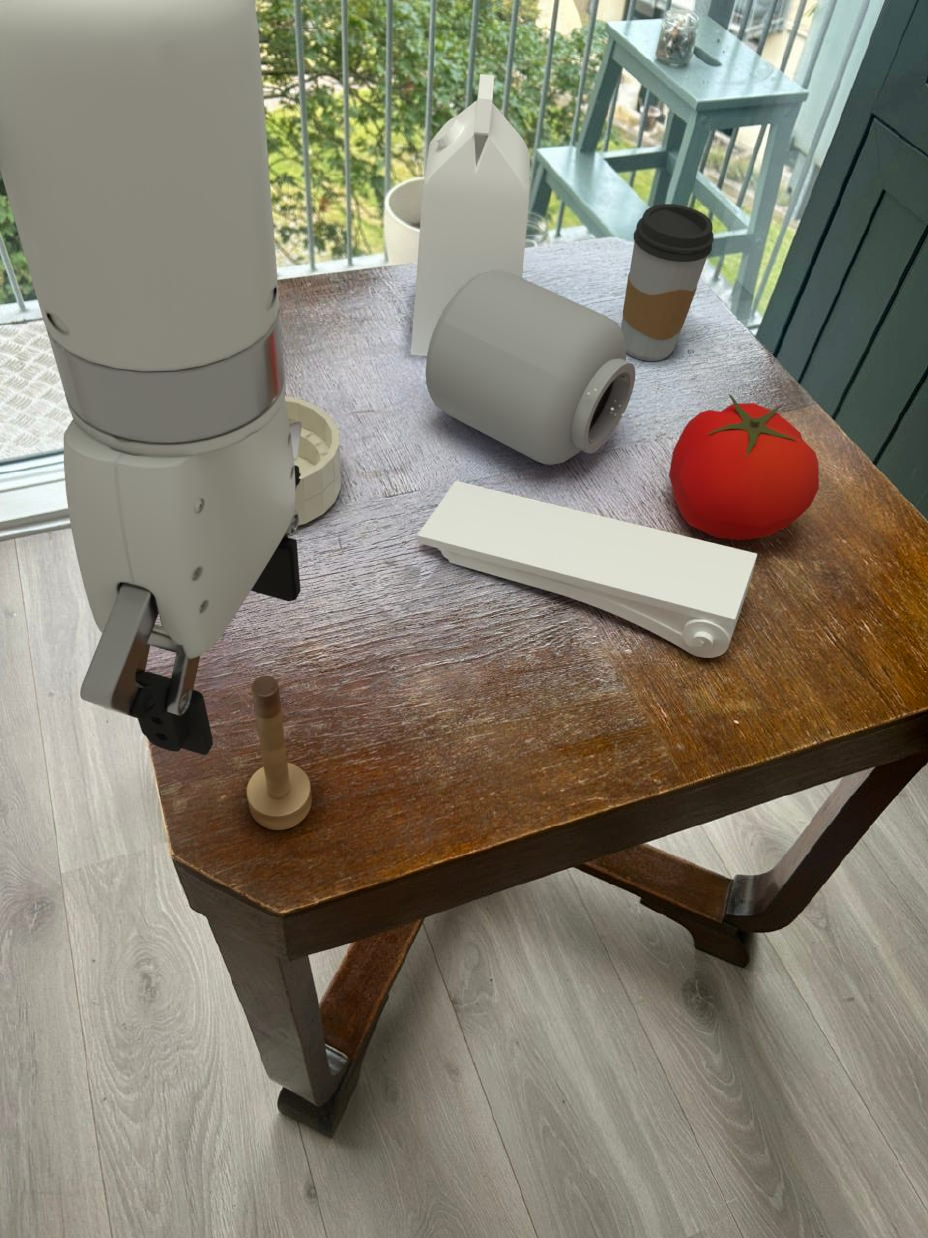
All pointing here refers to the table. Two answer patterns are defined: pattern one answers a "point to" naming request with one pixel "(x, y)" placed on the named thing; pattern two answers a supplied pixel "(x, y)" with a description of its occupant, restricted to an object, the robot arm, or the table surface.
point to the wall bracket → (598, 563)
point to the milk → (469, 208)
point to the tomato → (742, 472)
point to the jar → (529, 368)
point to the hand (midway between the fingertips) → (227, 661)
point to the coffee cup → (663, 278)
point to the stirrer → (275, 766)
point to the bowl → (315, 460)
